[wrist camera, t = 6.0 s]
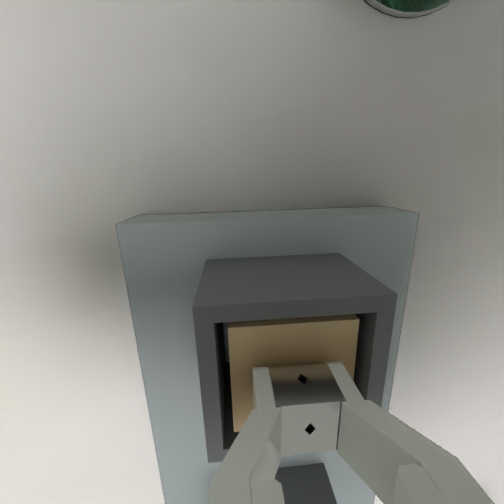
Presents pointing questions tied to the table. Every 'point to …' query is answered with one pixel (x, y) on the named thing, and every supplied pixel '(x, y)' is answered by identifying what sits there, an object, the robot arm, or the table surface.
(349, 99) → the table surface
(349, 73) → the table surface
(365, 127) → the table surface
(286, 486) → the button panel
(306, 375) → the robot arm
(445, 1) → the canned tomato
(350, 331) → the tan button
